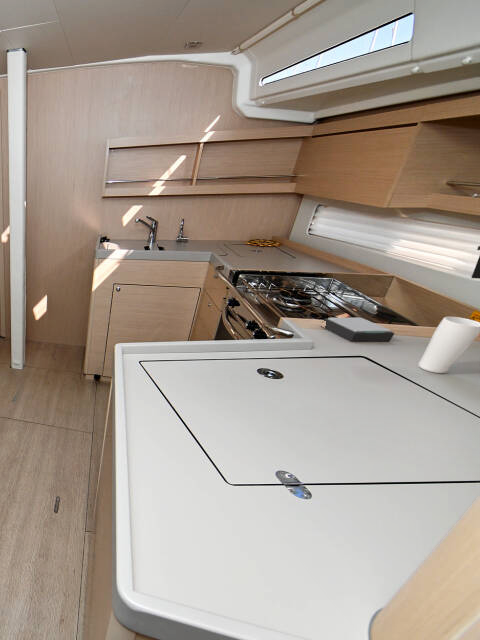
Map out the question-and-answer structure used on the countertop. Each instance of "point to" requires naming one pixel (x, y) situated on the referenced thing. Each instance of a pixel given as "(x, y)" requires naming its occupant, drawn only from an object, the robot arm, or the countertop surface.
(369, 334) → the kitchen scale
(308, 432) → the countertop surface
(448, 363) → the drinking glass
